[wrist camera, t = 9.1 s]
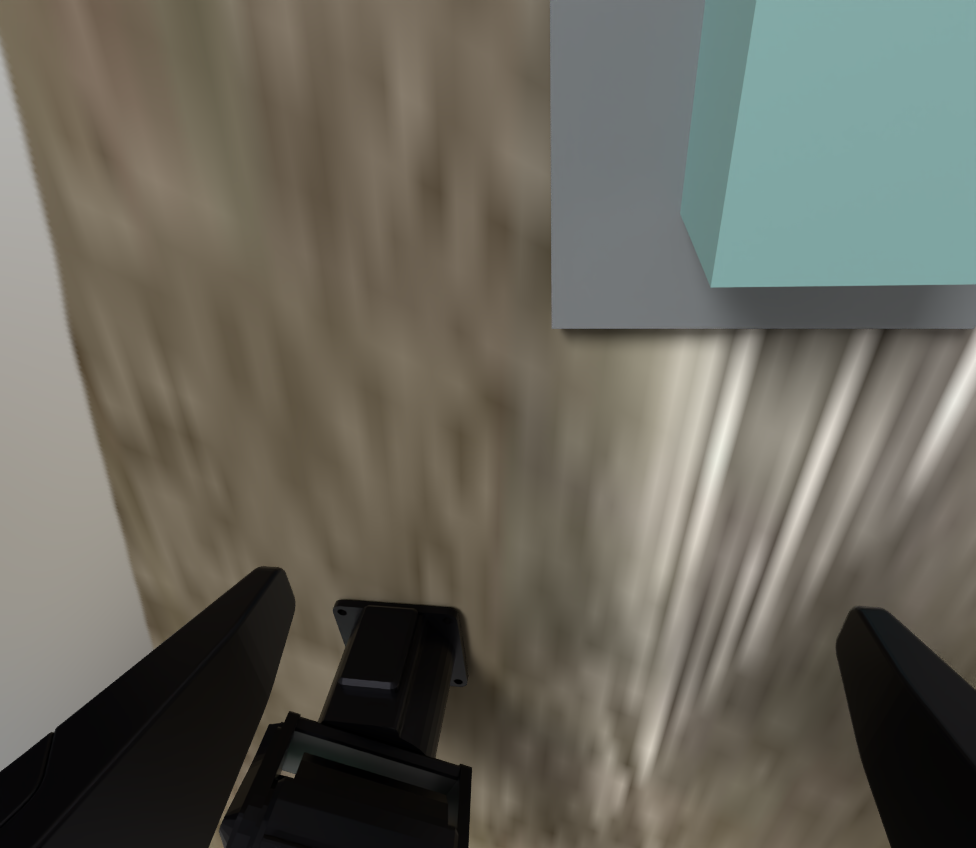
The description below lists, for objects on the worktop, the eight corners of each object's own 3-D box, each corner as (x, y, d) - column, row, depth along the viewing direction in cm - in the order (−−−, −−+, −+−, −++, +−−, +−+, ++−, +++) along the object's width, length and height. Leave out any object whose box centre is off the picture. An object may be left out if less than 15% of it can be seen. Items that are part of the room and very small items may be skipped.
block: (879, 207, 15) (982, 284, 11) (680, 213, 16) (711, 287, 12) (955, -36, 12) (1130, -49, 8) (707, -15, 13) (759, -17, 9)
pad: (956, 313, 18) (974, 328, 17) (553, 314, 19) (551, 328, 19) (1221, -300, 11) (1273, -324, 10) (551, -209, 12) (548, -223, 12)
